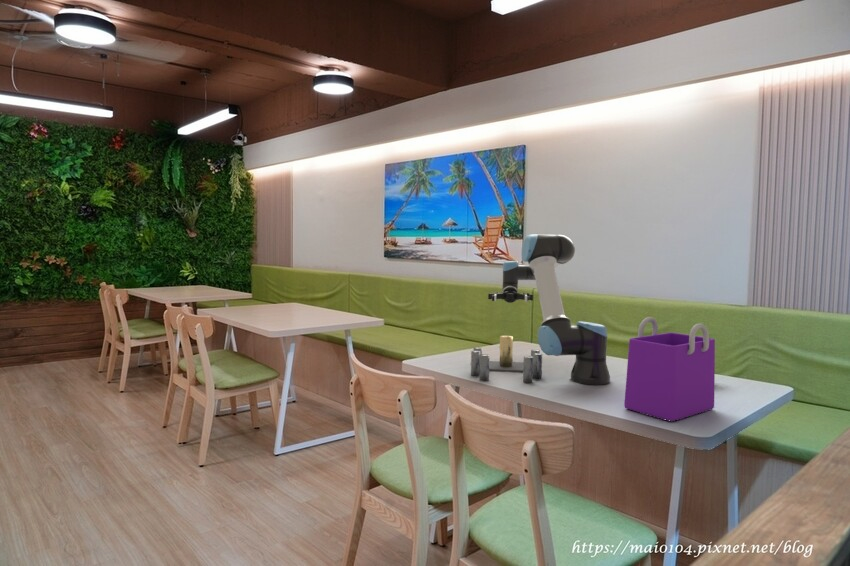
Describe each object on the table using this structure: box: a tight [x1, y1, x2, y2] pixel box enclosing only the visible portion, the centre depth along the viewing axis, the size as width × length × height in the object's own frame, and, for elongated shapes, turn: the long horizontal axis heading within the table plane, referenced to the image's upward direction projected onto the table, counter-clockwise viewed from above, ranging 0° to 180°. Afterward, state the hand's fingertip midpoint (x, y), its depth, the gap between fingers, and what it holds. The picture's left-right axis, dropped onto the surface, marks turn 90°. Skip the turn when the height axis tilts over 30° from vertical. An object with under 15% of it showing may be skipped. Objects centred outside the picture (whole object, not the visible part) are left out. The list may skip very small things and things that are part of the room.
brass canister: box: [499, 334, 514, 367], centre depth 238 cm, size 6×6×13 cm
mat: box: [489, 360, 524, 373], centre depth 239 cm, size 16×16×1 cm
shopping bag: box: [623, 316, 716, 422], centre depth 179 cm, size 28×22×30 cm
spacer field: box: [470, 346, 543, 384], centre depth 222 cm, size 29×18×10 cm, turn 82°
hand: (510, 298), depth 241 cm, fingers open, 13 cm apart
